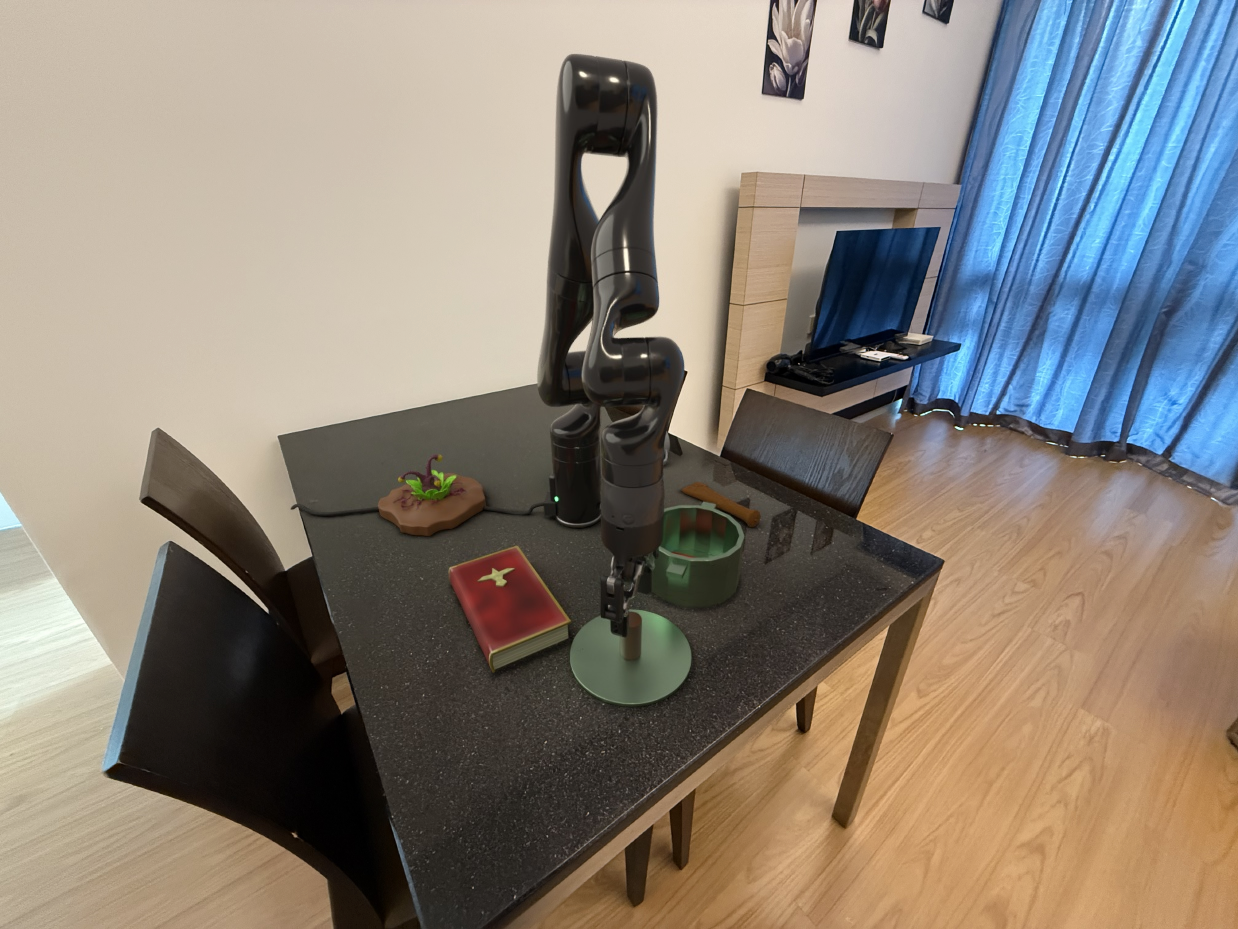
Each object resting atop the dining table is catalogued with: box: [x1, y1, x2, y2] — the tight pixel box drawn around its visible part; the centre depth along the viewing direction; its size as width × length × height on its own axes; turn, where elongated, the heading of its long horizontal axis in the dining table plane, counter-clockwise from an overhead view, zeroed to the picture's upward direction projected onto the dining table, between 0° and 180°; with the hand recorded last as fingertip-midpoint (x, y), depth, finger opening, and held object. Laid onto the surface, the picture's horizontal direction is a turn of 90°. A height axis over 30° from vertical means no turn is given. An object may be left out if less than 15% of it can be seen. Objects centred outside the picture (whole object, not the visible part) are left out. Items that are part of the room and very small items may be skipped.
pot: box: [651, 501, 745, 608], centre depth 87 cm, size 16×21×10 cm
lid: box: [569, 608, 693, 708], centre depth 72 cm, size 17×17×7 cm
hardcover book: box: [448, 545, 572, 673], centre depth 81 cm, size 12×21×4 cm, turn 31°
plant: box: [377, 453, 487, 537], centre depth 107 cm, size 20×20×11 cm
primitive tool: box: [680, 481, 762, 528], centre depth 108 cm, size 19×6×4 cm, turn 38°
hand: (632, 612), depth 69 cm, fingers open, 8 cm apart
